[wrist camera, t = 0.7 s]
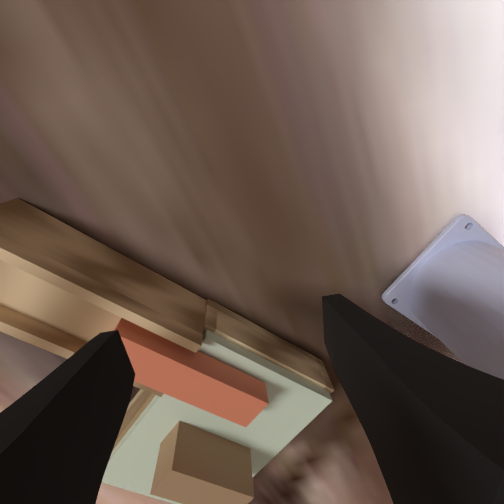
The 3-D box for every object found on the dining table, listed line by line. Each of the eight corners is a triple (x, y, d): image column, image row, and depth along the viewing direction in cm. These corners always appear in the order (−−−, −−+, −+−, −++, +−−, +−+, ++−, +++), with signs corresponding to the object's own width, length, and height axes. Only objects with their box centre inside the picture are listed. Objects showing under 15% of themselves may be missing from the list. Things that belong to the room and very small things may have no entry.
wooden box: (322, 360, 24) (334, 390, 22) (215, 470, 29) (214, 507, 26) (207, 298, 21) (205, 323, 18) (107, 432, 26) (93, 469, 23)
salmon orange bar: (265, 382, 20) (268, 403, 18) (244, 405, 20) (245, 427, 19) (123, 314, 17) (113, 332, 15) (104, 343, 17) (93, 364, 16)
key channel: (206, 300, 21) (201, 345, 17) (173, 344, 22) (161, 397, 18) (17, 197, 17) (-53, 222, 13) (-9, 257, 19) (-82, 298, 14)
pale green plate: (328, 391, 22) (350, 445, 18) (213, 504, 26) (211, 567, 22) (207, 329, 19) (202, 379, 15) (98, 468, 23) (74, 534, 19)
